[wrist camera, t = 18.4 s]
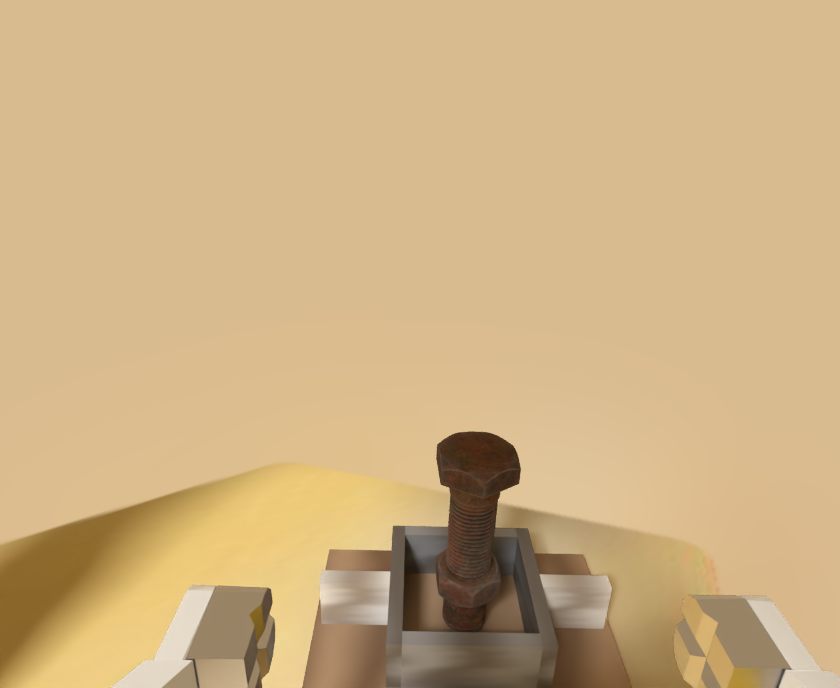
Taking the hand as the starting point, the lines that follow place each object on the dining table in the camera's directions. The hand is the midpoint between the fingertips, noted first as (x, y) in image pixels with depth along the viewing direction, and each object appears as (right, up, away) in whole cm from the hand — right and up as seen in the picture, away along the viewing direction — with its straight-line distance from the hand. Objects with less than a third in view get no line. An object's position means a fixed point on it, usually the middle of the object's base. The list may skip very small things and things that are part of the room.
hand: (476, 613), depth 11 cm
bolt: (+2, -16, +32) cm, 35 cm away
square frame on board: (+2, -17, +32) cm, 36 cm away
